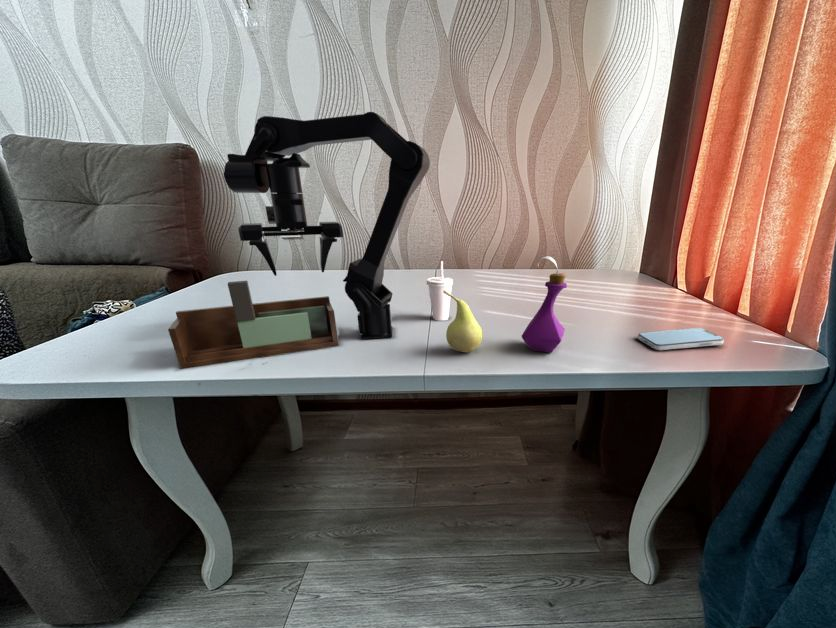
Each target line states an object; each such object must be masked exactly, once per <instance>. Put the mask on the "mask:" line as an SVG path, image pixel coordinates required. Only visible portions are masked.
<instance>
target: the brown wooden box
mask: <svg viewBox="0 0 836 628" xmlns="http://www.w3.org/2000/svg"><path fill="white" fill-rule="evenodd" d="M253 308H254V312H255V317H256V318H260V317H269V316H278V315H287V314H296V313H304V312H307V314H308V320H309V326H310V332H311V338H312V339H305V340H298V341H291V342H284V343H276V344H269V345H262V346H255V347H248V348H243V345H242V341H241V336H240V332H239V328H238V324H237V321H236V317H235V313H234V309H233V305H225V306H216V307H206V308H205V307H204V308H195V309H185V310H177V311H176V312H175V314H176V319H174V321H173V322H172V324H171V325H170V326H169V327H168V328H167V330H168V335H169V337H170V340H171V343H172V346H173V349H174V352H175V355H176V359H177V362H178V365H179V368H180V370H186V369H193V368H199V367H205V366H206V367H207V366H212V365H220V364H225V363H233V362H240V361H246V360H252V359H253V360H254V359H258V358H266V357H272V356H279V355H285V354H292V353H299V352H306V351H313V350H317V349H319V350H320V349H326V348H332V347H339V345H340V344H339V338H338V337H339V336H338V330H337V323H336V322H337V321H336V315H335V310H334V308H333V306H332V304H331V300H330V296H329V295H325V296H315V297H306V298H297V299H296V298H295V299H285V300H275V301H267V302H265V301H264V302H255V303H253Z"/></svg>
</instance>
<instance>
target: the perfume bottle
mask: <svg viewBox="0 0 836 628" xmlns="http://www.w3.org/2000/svg"><path fill="white" fill-rule="evenodd" d="M544 259H546V260H549V261H551V262H552V263H553V264H554V266H555V267H556V273H550V274H549V280H548V281H546V282H545V283H544V286H545V288H546V289H547V293H546V296H545V297H544V300H543V301H542V303H541V306H540V307H539V309H538V310H537V312H536V314H535V315H534V316H533V318H532V319H531V320H530V321H529V323H528V324H527V326H526V328H525V329H524V331H523V332H522V334H521V339H522V340H523V342H524V343H525V344H526V346H527V347H528V349H529V350H530V351H534V352H541V353H550V354H551V353H553V352H554V351H555V349H556V348H558V346H559V344H560V343H561V342H562V340H563V337H564V333H565V330H566V328H565V327H564V326H563V325H562V324H561V322H560V321H559V320H558V318H557V317H556V315H555V313H554V307H555V302H556V300H557V297H558V295H559V294H560V293H561V292H562V291H563V290H564V289H567V287H568V284H567V282H564V281H565V279H566V277H567V275H566V274H565V273H564V272H563V273H559V267H558V264H557V261H556V260H555V259H554V257H552V256H550V255H547V256H542V257H541V258H539V260H538V262H537V267H539V265H540V263H541V261H542V260H544Z"/></svg>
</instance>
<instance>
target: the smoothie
mask: <svg viewBox="0 0 836 628" xmlns="http://www.w3.org/2000/svg"><path fill="white" fill-rule="evenodd" d="M439 265H440V276H435V277H429V278H427V279H426V283H425V284H426V285H427V287H428V294H429V299H430V306H431V312H432V319H433V320H434V321H447V320H449V314H450V305H451V297H450V296H448V295H446V294H444V293H443V291H444V290H446V291H447V292H448V293H449V294H451V295H452V288H453V287H452V286H453V285H454V279H453V278H452V277H448V276H446V277H445V276H444V260H440V264H439Z"/></svg>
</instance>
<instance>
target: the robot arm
mask: <svg viewBox="0 0 836 628" xmlns="http://www.w3.org/2000/svg"><path fill="white" fill-rule="evenodd" d="M253 132H254V133H253V136H252V138H251V139H250V142H249V144H248V146H247V150H246V151H245V154H236V153H227V160H228V161H227V162H226V163H225V165H224V172H223V178H224V181H225V183H226V186H227V187H228V188H229V189H230V190H231V191H232V192H233V193H236V194H265V193H267V192H268V191H269V192H270V199H271V203H272V205H271V206H270V205H269V206H268V205H266V206H265V212H266V217H267V222H268V223H267V224H268V225H275V226H263V223H261V222H255V223H253V222H251V223H250V222H249V223H247V222H246V223H241V224H240V226H239V227H238V230H237V231H238V235H239V239H240V242H248V244H249V246H255V247H256V249H257V250H258V251H259V252H260V254H261V255H262V257H263V258H264V259H265V261H266V263H267V265H268V267H269V269H270V270H271V272H272V274H273V275H274V277H276V276H278V274H277V268H276V264H275V261H274V258H273V255H272V253H271V250H270V247H269V243H268V239H267V238H266V237H284V236H287V237H288V236H314V235H317V236H319V235H320V237H319V251H320V252H319V255H320V257H319V258H320V262H319V263H320V270H321V273H325V269H326V265H327V261H328V258H329V257H328V256H329V252H330V250H331V248H332V245H333V243H337V242H338V239H337V238H344V230H343V226H342V224H340V222H338V221H318V222H319V225H308V220H307V213H306V206H305V200H304V194H303V187H302V186H303V185H302V179H301V172H300V169H309V168H311V164H310V163H308V162H307V161H306V160H305V159H304V158H303V157H302V156H301V154H300V153H303V152H306V151H308V150H309V149H312V148H314V147H317V146H324V145H335V144H343V143H352V142H354V143H355V142H362V141H373V142H374V143H375V145H376V146H378V148H379V149H381V151H383V153H384V154H386V155H387V156H388V157H389V158H390V163H389V169H388V185H387V186H388V187H387V191H386V194H385V196H384V200H383V202H382V204H381V208H380V210H379V213H378V216H377V219H376V221H375V223H374V226H373V228H372V232H371V234H370V237H369V240H368V243H367V246H366V248H365V251H364V255H363V256H362V258H358V259H356V260H354V261H352V262H350V263H349V264H348V268H347V273H346V275H345V278H343V280H342V282H343V283H344V293H346V296H347V297H348V298H349V300H350V301H352V303H353V305H354V307H355V309H356V311H357V312H358V314H357V325H358V333H359V334H360V335H361V336H360V339H361V340H369V339H370V340H371V339H387V338H393V325H392V316H391V315H392V314H391V304H390V302H392V297H393V292H392V291H391V290H390V289H389V288H388V287H387V286H385V285H384V284H383V281H384V275H385V261H386V259H387V256H388V254H389V252H390V249H391V246H392V244H393V241H394V238H395V236H396V233H397V230H398V228H399V225H400V223H401V221H402V219H403V216H404V213H405V210H406V207H407V205H408V203H409V200H410V198H411V197H412V196H413V194H414V192H415V191H416V190H417V189H418V187H420V186H419V185H420V184H421V183H422V182H423V180H424V178H425V177H426V174H427V173H428V171H429V169H430V164H431V160H430V157H429V154H428V152H427V151H426V150H425V148H423V147H422V146H421V145H419V144H417V143H415V142H414V141H411V140H406V139H405V138H404V137H403V136H402V135H401V134H400V133H398V132H397V130H395V129H394V128H393V127H392V126H391V125H389V123H388V122H387V121H386V119H384V117H382V116H381V115H380V114H378V113H377V112H374V111H366V112H365V113H360V114H351V115H343V116H335V117H334V116H333V117H324V118H317V119H306V120H302V119H294V118H286V117H279V116H271V115H270V116H269V115H263V116H260V117H259V118H257V120H256V123H255V125H254V131H253ZM268 162H272V163H268Z"/></svg>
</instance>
